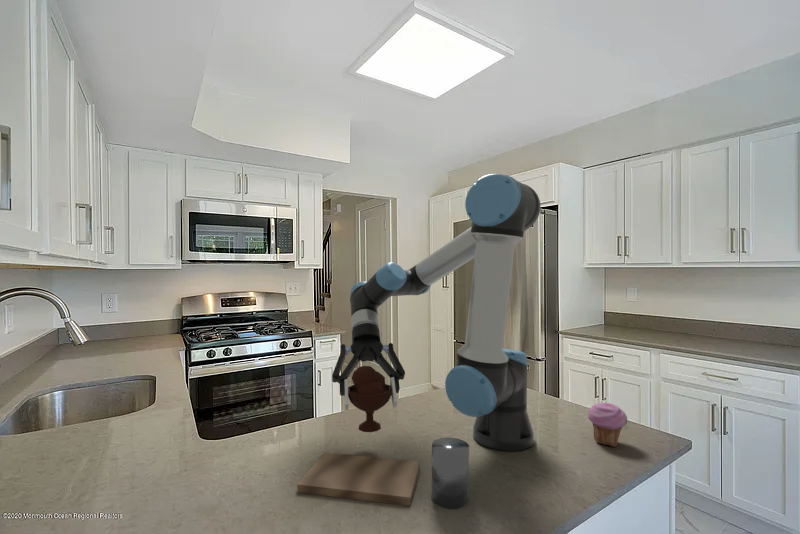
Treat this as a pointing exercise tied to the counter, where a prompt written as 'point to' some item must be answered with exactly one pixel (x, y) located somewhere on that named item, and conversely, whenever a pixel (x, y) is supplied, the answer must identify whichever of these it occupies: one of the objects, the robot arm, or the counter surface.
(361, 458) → the walnut board
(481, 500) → the counter surface
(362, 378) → the ice cream bowl
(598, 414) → the cupcake
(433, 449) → the metal tin
